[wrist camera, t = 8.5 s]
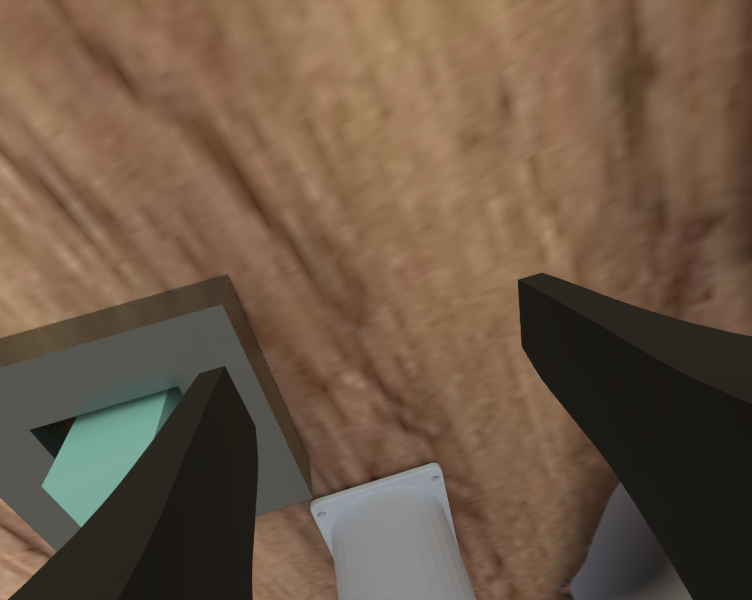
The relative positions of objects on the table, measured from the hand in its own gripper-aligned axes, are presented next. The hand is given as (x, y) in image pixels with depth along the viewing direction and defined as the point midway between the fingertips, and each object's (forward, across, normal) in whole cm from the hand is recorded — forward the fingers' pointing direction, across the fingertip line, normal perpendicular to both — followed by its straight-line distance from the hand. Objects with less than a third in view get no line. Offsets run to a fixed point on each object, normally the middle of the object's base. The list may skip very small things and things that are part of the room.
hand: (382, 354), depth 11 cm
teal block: (+10, +11, +7) cm, 16 cm away
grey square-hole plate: (+9, +11, +7) cm, 16 cm away
